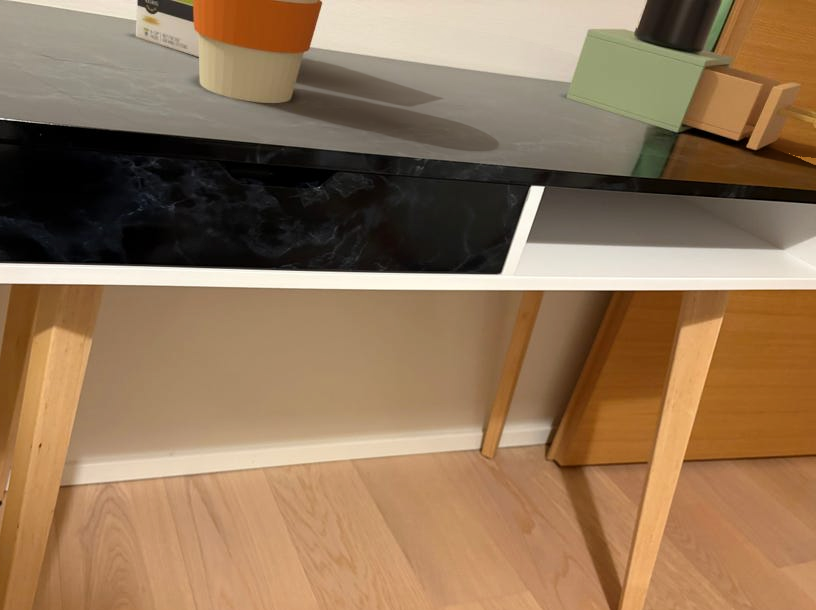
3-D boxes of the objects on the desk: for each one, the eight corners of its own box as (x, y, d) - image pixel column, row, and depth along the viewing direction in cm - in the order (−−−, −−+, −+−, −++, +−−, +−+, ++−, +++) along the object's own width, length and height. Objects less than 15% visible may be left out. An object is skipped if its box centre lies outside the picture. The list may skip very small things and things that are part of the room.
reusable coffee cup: (312, 90, 85) (338, -68, 77) (304, 119, 74) (334, -61, 66) (193, 67, 84) (208, -95, 76) (168, 93, 73) (182, -93, 66)
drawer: (822, 154, 104) (850, 97, 100) (805, 165, 95) (836, 103, 91) (671, 108, 113) (692, 54, 110) (642, 115, 104) (664, 56, 101)
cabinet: (705, 125, 112) (733, 57, 107) (676, 134, 102) (706, 60, 97) (601, 93, 119) (624, 29, 114) (565, 99, 109) (588, 28, 104)
